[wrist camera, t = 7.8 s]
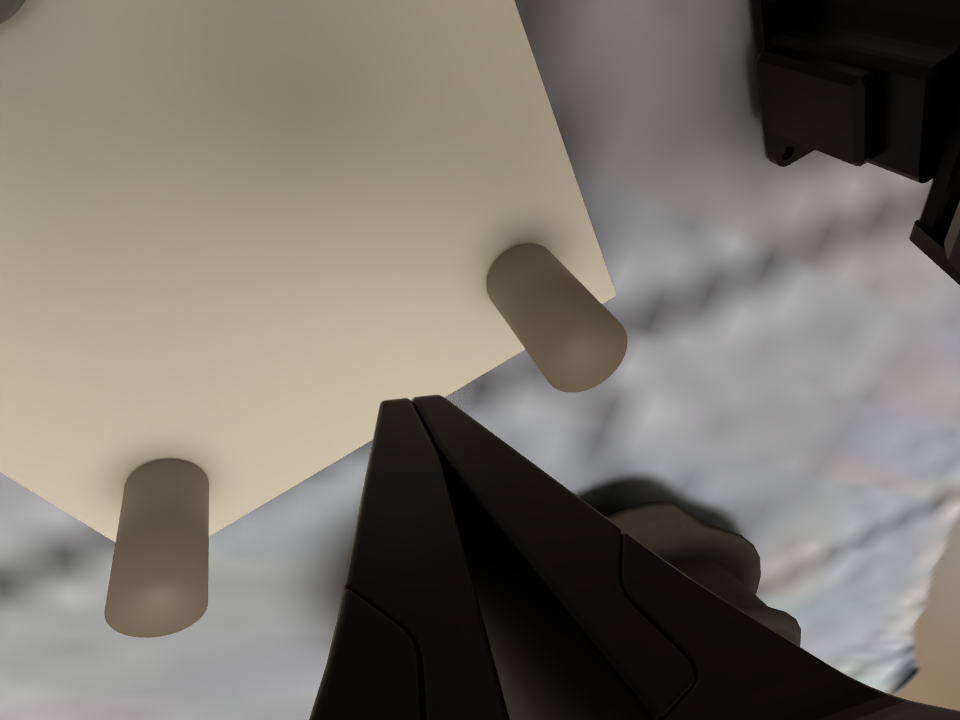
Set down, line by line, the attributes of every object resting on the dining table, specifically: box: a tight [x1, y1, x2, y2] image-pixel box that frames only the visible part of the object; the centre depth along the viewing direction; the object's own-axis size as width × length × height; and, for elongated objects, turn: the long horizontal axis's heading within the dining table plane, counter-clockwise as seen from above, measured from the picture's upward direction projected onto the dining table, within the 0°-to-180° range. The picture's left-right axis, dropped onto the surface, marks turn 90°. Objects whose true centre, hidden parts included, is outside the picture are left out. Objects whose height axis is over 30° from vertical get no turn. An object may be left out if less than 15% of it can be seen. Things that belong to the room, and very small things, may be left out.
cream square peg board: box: [0, 0, 627, 638], centre depth 15 cm, size 18×18×6 cm
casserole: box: [605, 502, 801, 647], centre depth 35 cm, size 25×19×8 cm
